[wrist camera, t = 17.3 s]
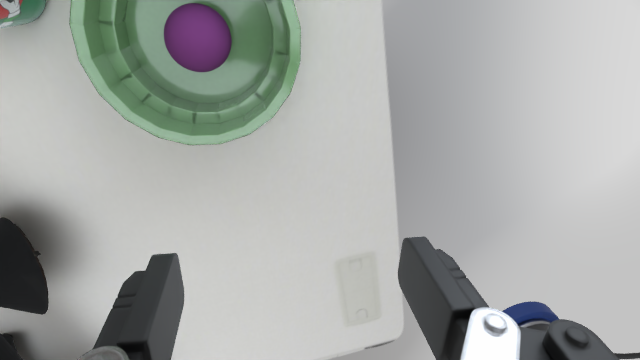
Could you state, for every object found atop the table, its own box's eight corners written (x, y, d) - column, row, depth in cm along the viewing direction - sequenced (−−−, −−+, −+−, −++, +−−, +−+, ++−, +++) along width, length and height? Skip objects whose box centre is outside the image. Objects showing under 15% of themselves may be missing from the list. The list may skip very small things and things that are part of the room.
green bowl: (291, -68, 28) (302, -80, 22) (291, 118, 34) (299, 142, 29) (80, -82, 25) (37, -99, 20) (125, 121, 32) (101, 148, 27)
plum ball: (230, 3, 29) (227, 5, 24) (235, 66, 31) (232, 78, 27) (166, 0, 28) (150, 2, 24) (175, 65, 30) (162, 78, 26)
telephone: (-40, 172, 37) (98, 361, 51) (-241, 250, 28) (-6, 454, 42) (22, 191, 29) (166, 411, 43) (-235, 310, 20) (54, 539, 34)
